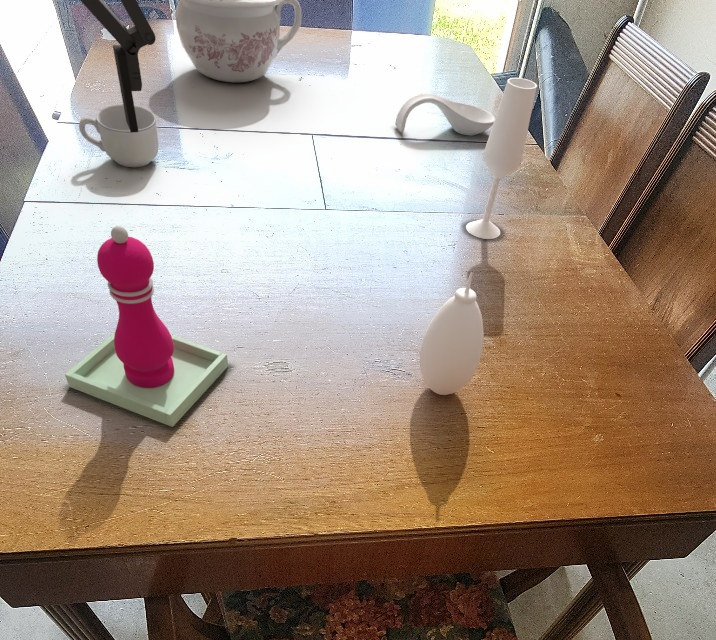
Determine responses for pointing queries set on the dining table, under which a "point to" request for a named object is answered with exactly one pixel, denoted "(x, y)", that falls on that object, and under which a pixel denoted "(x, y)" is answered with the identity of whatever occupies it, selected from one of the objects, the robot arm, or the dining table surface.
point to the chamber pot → (233, 36)
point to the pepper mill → (136, 311)
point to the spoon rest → (450, 114)
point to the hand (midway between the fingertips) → (61, 130)
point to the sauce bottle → (453, 343)
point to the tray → (162, 403)
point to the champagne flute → (505, 145)
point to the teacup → (124, 135)
